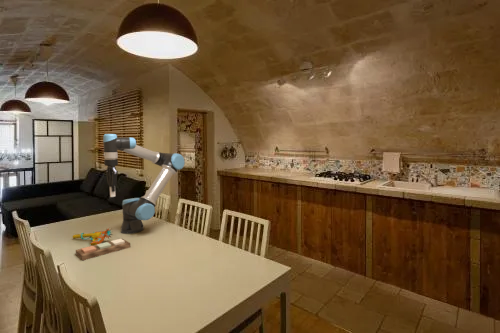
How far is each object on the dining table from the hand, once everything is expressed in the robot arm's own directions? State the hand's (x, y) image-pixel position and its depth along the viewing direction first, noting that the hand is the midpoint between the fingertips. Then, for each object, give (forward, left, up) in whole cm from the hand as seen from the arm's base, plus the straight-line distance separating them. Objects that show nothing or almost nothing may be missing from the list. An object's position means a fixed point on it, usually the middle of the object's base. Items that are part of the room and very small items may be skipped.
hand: (112, 196), depth 176 cm
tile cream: (+2, +10, -28) cm, 30 cm away
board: (+10, +10, -29) cm, 33 cm away
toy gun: (+13, -10, -29) cm, 34 cm away
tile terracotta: (+18, +10, -28) cm, 35 cm away
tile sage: (+10, +10, -28) cm, 31 cm away
